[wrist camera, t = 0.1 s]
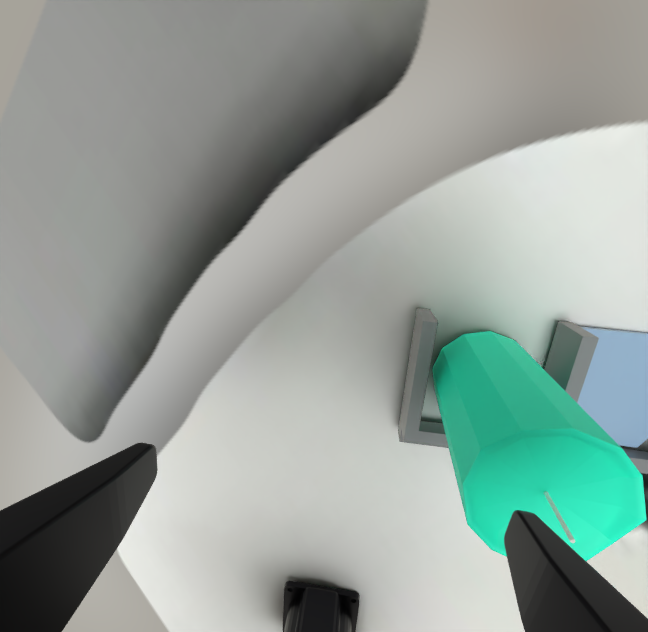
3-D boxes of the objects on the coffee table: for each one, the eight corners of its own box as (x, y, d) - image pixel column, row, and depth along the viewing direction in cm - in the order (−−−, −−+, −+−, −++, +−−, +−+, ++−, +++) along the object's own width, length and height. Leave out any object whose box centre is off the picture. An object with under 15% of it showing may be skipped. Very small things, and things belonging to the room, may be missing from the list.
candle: (451, 428, 24) (506, 624, 12) (417, 350, 23) (442, 486, 11) (545, 400, 22) (710, 598, 11) (513, 316, 21) (657, 434, 10)
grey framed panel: (666, 464, 23) (701, 494, 20) (398, 430, 24) (401, 454, 22) (726, 336, 20) (774, 355, 18) (417, 307, 22) (423, 320, 19)
